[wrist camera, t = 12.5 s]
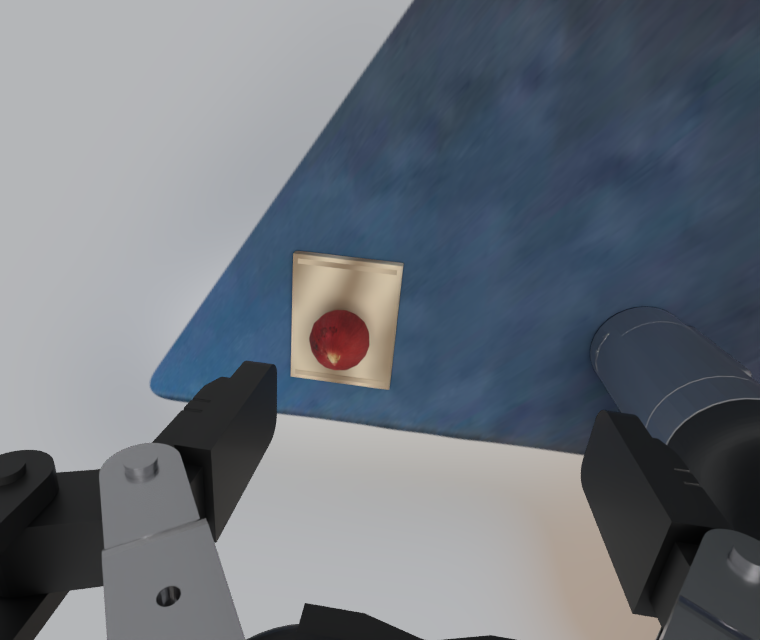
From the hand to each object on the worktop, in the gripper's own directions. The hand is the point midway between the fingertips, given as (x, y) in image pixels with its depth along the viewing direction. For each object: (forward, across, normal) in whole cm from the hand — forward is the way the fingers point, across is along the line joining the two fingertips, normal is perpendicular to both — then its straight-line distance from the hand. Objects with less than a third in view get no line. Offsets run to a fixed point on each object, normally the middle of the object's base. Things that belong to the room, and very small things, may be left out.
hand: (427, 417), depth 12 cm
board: (+36, +8, +13) cm, 39 cm away
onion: (+35, +8, +13) cm, 38 cm away
